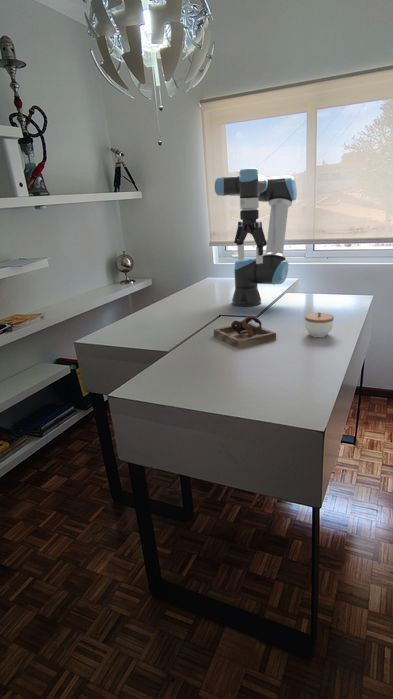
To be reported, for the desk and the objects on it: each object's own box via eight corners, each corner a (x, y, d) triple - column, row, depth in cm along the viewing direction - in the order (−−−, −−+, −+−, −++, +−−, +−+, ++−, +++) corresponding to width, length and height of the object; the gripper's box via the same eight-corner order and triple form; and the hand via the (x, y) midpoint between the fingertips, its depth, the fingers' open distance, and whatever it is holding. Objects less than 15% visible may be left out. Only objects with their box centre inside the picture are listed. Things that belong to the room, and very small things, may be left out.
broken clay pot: (256, 330, 174) (262, 316, 168) (257, 347, 167) (264, 332, 161) (228, 325, 172) (233, 310, 166) (228, 342, 165) (234, 327, 160)
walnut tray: (213, 336, 171) (213, 329, 170) (248, 328, 178) (248, 322, 177) (239, 348, 155) (239, 341, 154) (276, 339, 162) (276, 332, 161)
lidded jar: (334, 339, 159) (335, 315, 156) (304, 339, 161) (305, 315, 158) (331, 331, 169) (332, 308, 165) (303, 330, 171) (304, 308, 168)
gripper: (225, 210, 180) (227, 259, 187) (259, 209, 159) (260, 266, 166) (240, 208, 183) (241, 257, 190) (275, 208, 162) (275, 263, 169)
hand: (250, 261), depth 178 cm, fingers open, 13 cm apart
